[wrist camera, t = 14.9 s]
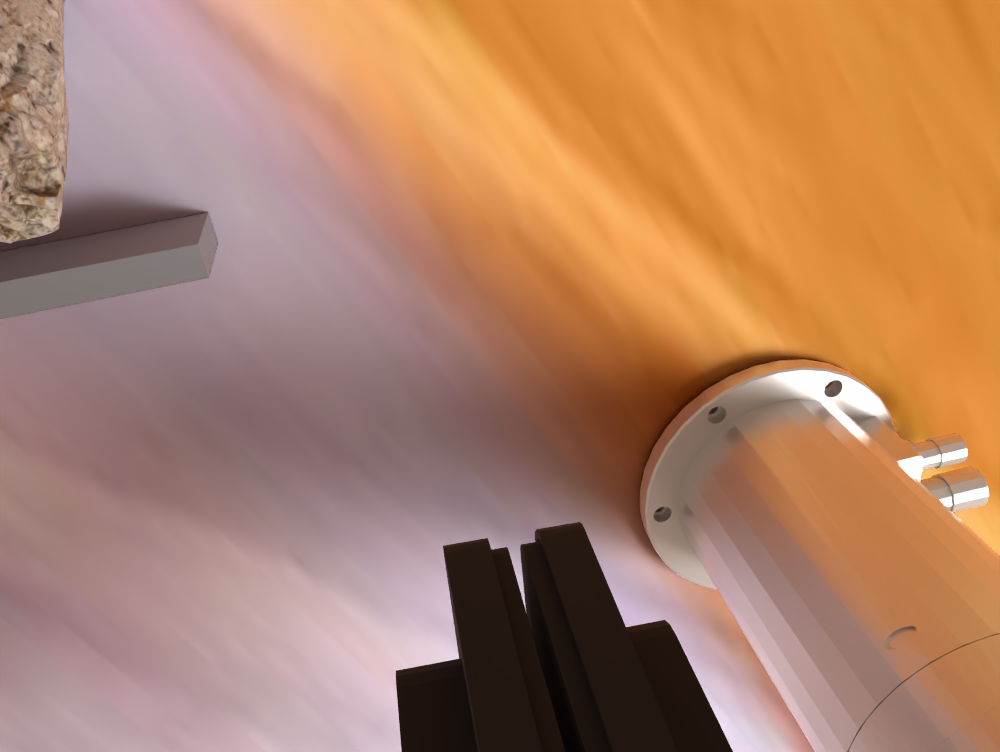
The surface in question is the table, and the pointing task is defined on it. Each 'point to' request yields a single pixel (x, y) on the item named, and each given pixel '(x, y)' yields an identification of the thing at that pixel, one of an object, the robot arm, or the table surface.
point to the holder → (106, 264)
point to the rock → (32, 118)
